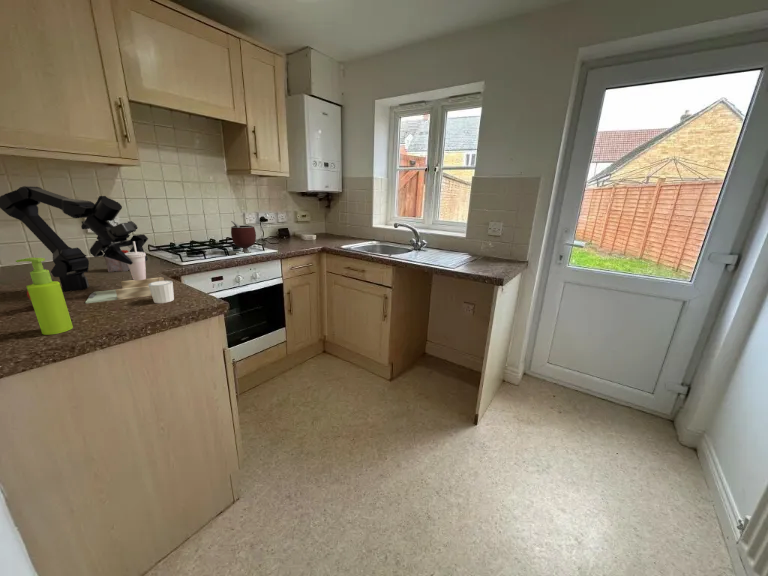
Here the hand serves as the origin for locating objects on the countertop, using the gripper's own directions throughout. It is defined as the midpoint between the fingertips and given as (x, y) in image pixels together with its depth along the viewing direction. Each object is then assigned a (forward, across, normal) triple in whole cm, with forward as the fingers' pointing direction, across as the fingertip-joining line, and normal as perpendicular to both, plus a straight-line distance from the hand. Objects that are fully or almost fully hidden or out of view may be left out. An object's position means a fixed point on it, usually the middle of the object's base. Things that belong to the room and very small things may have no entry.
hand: (139, 261), depth 112 cm
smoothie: (+4, 0, +6) cm, 7 cm away
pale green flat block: (+2, -7, +15) cm, 17 cm away
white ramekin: (+18, -8, -1) cm, 20 cm away
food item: (-18, +32, +37) cm, 52 cm away
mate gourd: (+4, +82, +13) cm, 83 cm away
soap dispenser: (+11, -32, +7) cm, 35 cm away
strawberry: (-3, -19, +21) cm, 29 cm away
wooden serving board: (+8, 0, +9) cm, 12 cm away
